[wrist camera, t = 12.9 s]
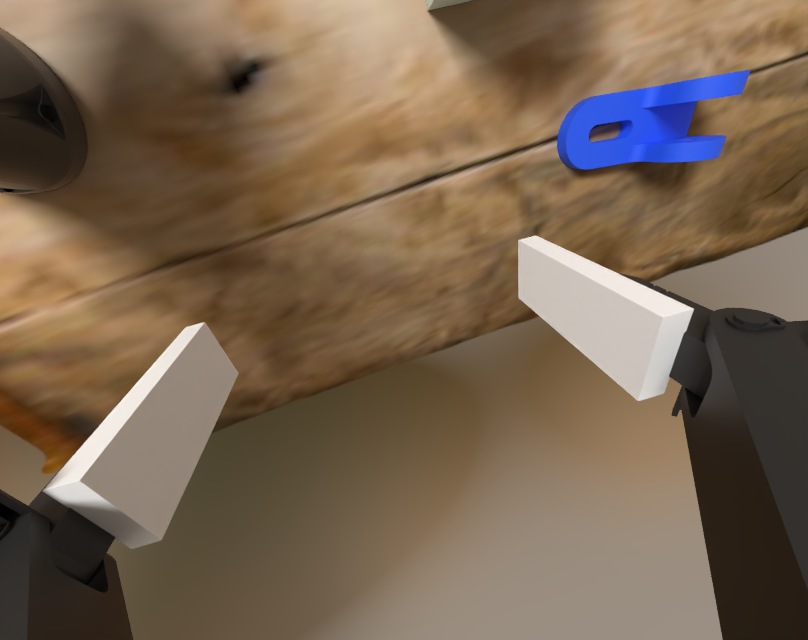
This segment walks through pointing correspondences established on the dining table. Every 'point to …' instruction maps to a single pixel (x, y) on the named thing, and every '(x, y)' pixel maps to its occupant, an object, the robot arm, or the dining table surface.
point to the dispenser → (442, 3)
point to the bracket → (645, 124)
